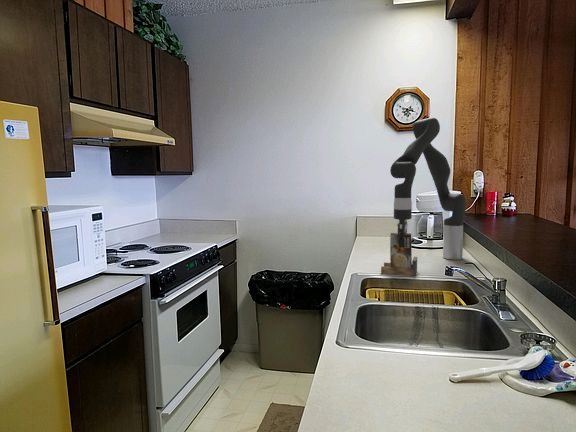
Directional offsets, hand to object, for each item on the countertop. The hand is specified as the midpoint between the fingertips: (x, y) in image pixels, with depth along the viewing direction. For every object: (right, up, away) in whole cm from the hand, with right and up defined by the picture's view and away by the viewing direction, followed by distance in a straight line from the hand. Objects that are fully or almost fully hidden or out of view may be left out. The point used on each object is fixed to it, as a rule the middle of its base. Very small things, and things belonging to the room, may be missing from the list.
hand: (402, 245), depth 177 cm
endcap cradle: (-1, -12, +1) cm, 12 cm away
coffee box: (0, -11, +1) cm, 11 cm away
